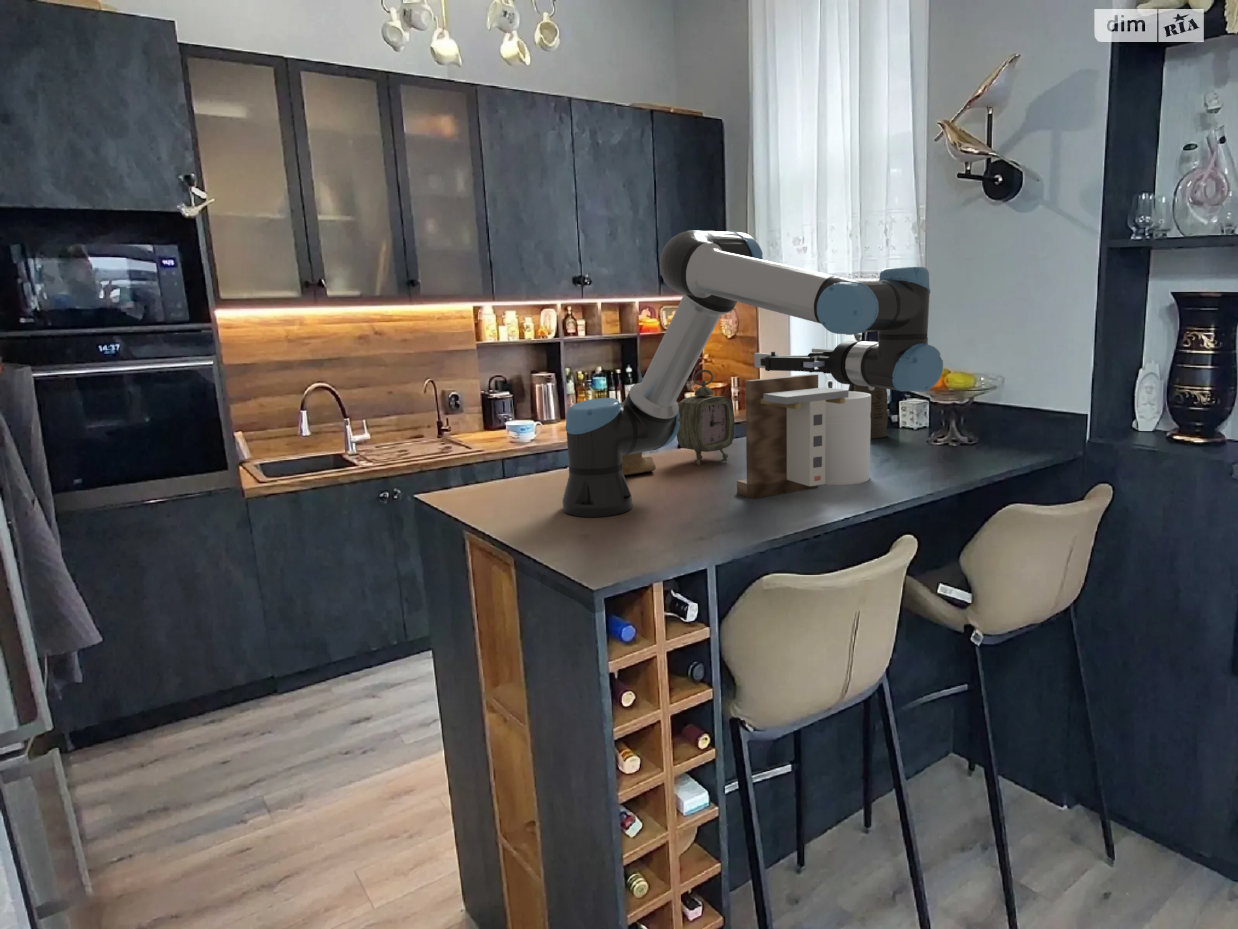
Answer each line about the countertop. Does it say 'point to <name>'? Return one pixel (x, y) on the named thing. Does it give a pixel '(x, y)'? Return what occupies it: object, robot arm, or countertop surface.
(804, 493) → the countertop surface
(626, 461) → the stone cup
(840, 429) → the canister
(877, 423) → the beer stein
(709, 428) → the tabletop clock
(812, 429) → the power strip
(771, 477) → the bracket
